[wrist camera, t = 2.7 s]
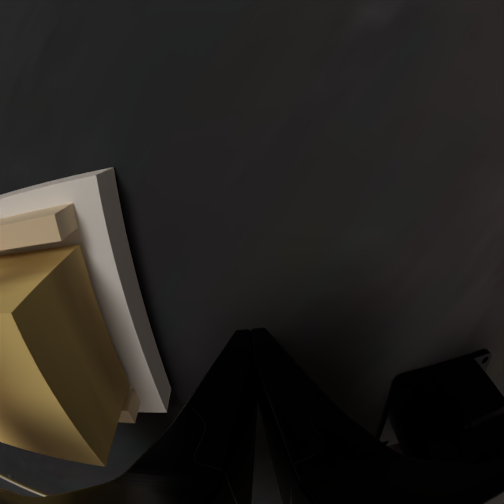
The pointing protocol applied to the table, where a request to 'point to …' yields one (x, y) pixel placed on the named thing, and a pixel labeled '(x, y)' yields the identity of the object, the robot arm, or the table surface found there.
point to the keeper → (56, 359)
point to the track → (94, 269)
